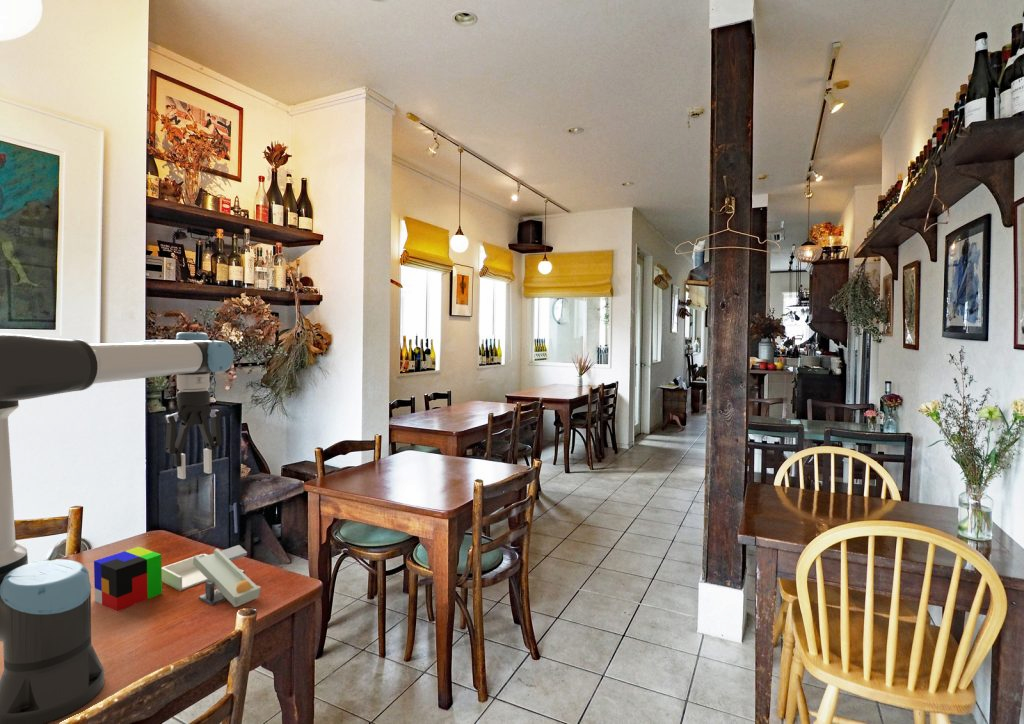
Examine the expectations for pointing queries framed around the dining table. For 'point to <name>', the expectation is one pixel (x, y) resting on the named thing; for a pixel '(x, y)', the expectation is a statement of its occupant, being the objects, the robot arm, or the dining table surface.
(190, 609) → the dining table surface
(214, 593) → the fulcrum
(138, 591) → the puzzle toy
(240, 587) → the ball
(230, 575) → the lever
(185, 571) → the tray
